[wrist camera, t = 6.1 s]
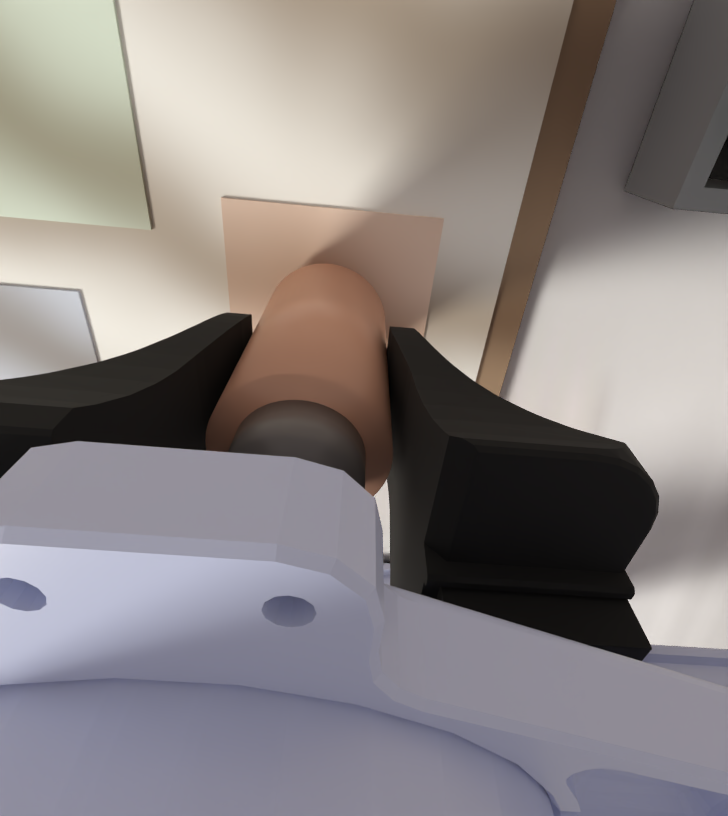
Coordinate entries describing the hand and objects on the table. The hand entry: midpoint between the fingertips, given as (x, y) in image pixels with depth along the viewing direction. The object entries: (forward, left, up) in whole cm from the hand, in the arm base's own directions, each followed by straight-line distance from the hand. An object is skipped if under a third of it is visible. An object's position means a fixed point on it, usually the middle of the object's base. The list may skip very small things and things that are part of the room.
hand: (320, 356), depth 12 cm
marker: (0, 0, -2) cm, 2 cm away
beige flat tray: (+2, +5, -4) cm, 6 cm away
